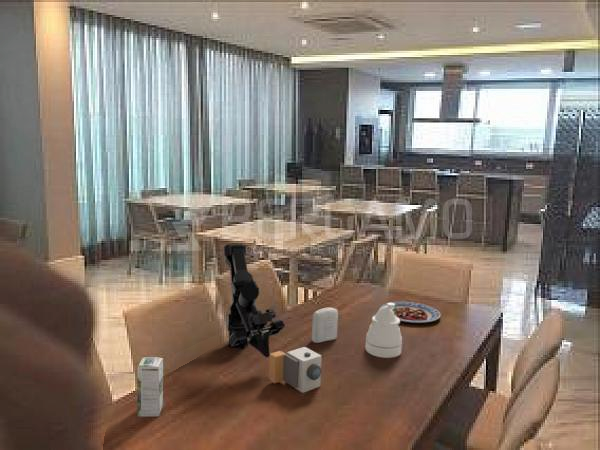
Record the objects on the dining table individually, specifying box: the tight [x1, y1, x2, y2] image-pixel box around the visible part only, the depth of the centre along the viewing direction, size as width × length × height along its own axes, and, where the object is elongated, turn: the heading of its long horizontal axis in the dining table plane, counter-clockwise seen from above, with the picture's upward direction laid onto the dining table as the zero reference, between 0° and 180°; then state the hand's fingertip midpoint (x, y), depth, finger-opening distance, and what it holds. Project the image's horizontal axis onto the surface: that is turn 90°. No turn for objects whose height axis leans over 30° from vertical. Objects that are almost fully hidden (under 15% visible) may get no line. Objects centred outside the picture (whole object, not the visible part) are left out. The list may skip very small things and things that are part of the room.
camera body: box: [286, 346, 322, 394], centre depth 153 cm, size 10×7×11 cm
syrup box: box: [136, 356, 164, 418], centre depth 135 cm, size 6×6×14 cm
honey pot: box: [365, 302, 403, 359], centre depth 180 cm, size 13×13×18 cm
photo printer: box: [311, 307, 339, 344], centre depth 188 cm, size 10×4×12 cm, turn 123°
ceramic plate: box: [379, 301, 441, 324], centre depth 219 cm, size 26×26×3 cm
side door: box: [268, 350, 298, 389], centre depth 152 cm, size 9×4×8 cm, turn 39°
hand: (267, 356), depth 157 cm, fingers closed
